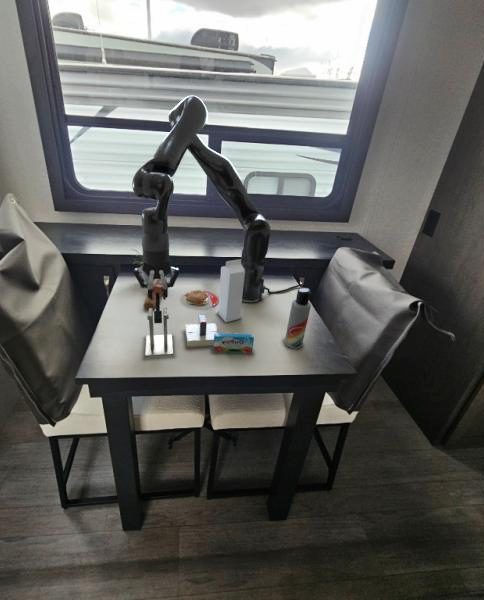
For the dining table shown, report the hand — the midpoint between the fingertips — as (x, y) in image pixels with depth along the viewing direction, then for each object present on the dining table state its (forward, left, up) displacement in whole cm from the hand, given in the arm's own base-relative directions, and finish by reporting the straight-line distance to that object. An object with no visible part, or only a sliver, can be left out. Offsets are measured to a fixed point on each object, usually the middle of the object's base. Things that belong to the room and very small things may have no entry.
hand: (157, 298), depth 99 cm
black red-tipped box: (-13, +6, -9) cm, 17 cm away
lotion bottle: (-43, +11, -12) cm, 46 cm away
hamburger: (-16, -20, -12) cm, 28 cm away
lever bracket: (0, +9, -12) cm, 15 cm away
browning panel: (-14, +6, -12) cm, 19 cm away
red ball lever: (0, +4, -1) cm, 4 cm away
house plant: (+5, -38, -12) cm, 40 cm away
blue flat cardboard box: (-22, +13, -12) cm, 29 cm away
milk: (-25, -7, -12) cm, 29 cm away
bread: (+1, -21, -12) cm, 24 cm away
